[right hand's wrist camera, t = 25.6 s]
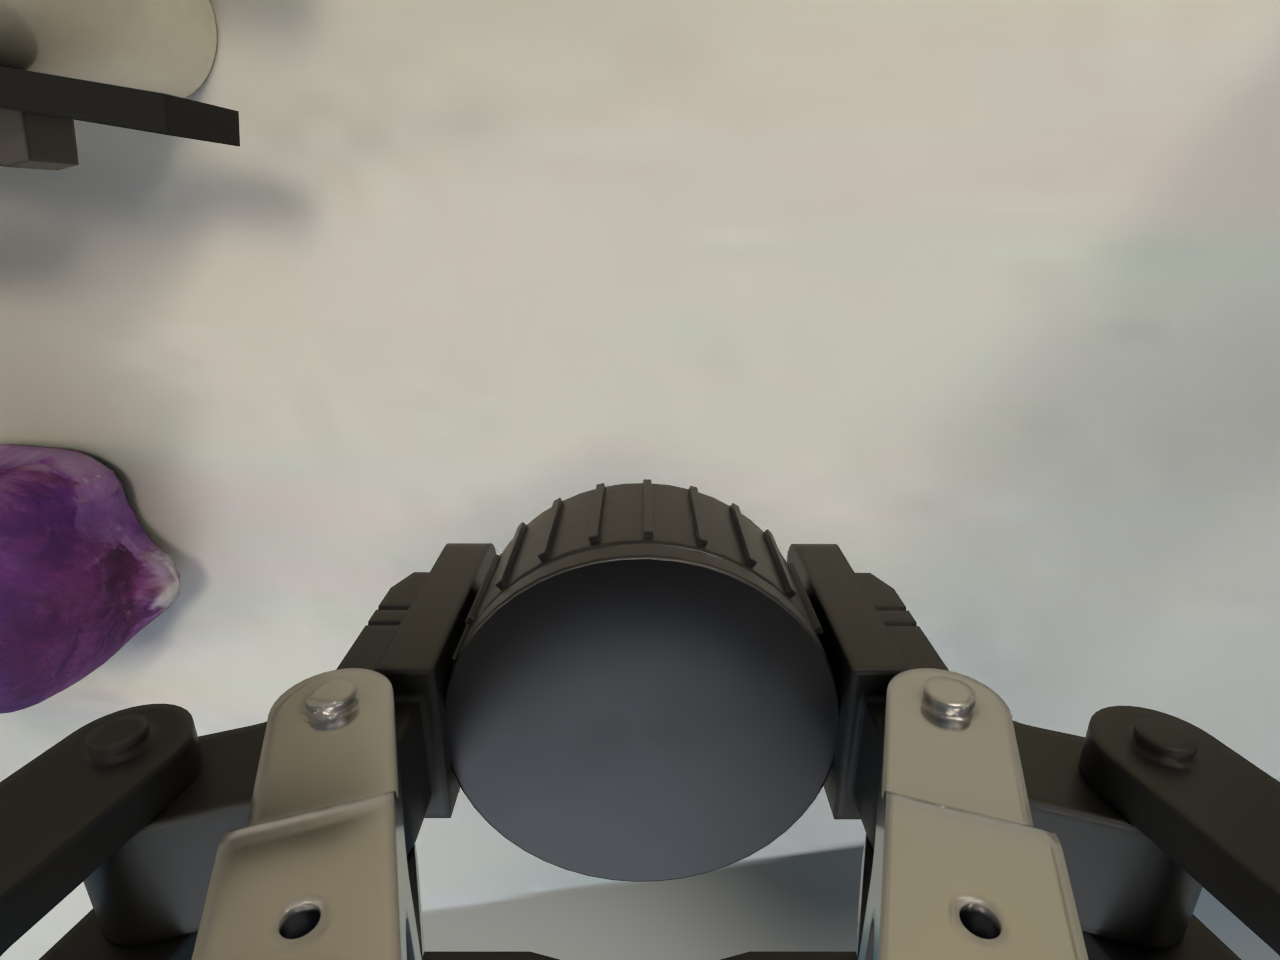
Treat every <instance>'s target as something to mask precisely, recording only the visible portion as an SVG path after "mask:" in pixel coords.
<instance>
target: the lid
mask: <svg viewBox="0 0 1280 960" xmlns="http://www.w3.org/2000/svg"><path fill="white" fill-rule="evenodd" d="M465 623H467V624H466V627H465V629H464V631H463V634H462V636H461V638H460V641H459V643H458V646H457V648H456V650H455V653H454V655H453V657H452V661H453V666H452V669H451V672H450V675H449V678H448V681H447V684H446V688H445V694H444V705H445V715H446V724H447V732H448V741H449V749H450V758H451V765H452V770H453V773H454V775H455V777H456V779H457V781H458V783H459V785H460V787H461V789H462V790H463V792H464V793H465V795H466V796H467V798H468V799H469V801H470V802H471V803H472V805H473V806H474V808H475V809H476V810H477V811H478V812H479V813H480V814H481V815H482V817H483V818H484V819H485V820H486V821H487V822H488V823H489V824H490V825H491V826H492V827H493V828H495V829H496V830H497V831H498V832H499V833H500V834H502V835H503V836H504V837H505V838H506V839H508V840H509V841H511V842H512V843H514V844H515V845H517V846H518V847H520V848H521V849H523V850H524V851H526V852H528V853H530V854H532V855H534V856H536V857H538V858H540V859H541V860H543V861H545V862H548V863H551V864H553V865H556V866H558V867H561V868H563V869H566V870H569V871H573V872H577V873H580V874H584V875H587V876H592V877H598V878H604V879H610V880H620V881H634V882H640V881H664V880H672V879H680V878H686V877H690V876H695V875H699V874H704V873H707V872H710V871H713V870H716V869H719V868H722V867H725V866H728V865H730V864H733V863H735V862H737V861H739V860H742V859H744V858H746V857H748V856H750V855H752V854H753V853H755V852H757V851H758V850H760V849H762V848H764V847H765V846H767V845H768V844H770V843H771V842H772V841H774V840H775V839H776V838H778V837H779V836H780V835H782V834H783V833H784V832H786V831H787V830H788V829H789V828H790V827H791V826H792V825H793V824H794V823H795V822H796V821H797V820H798V819H799V818H800V817H801V816H802V815H803V814H804V813H805V811H806V810H807V809H808V808H809V806H810V805H811V804H812V802H813V801H814V800H815V799H816V797H817V795H818V794H819V792H820V790H821V789H822V787H823V785H824V783H825V782H826V780H827V777H828V775H829V773H830V770H831V768H832V765H833V761H834V754H835V746H836V738H837V729H838V721H839V711H840V695H839V691H838V687H837V683H836V679H835V675H834V673H833V670H832V668H831V665H830V663H829V661H828V658H827V656H826V654H825V651H824V649H823V646H822V644H821V642H820V639H819V637H818V635H819V634H822V633H823V629H822V627H821V625H820V623H819V620H818V618H817V616H816V613H815V611H814V609H813V607H812V604H811V602H810V600H809V598H808V595H807V593H806V591H805V588H804V586H803V584H802V582H801V579H800V577H799V575H798V572H797V570H796V568H795V566H794V564H793V563H790V564H787V563H786V561H785V559H784V558H783V556H782V554H781V553H780V551H779V549H778V547H777V545H776V542H775V540H774V537H773V535H772V533H771V532H770V531H769V530H766V531H765V532H763V531H762V530H761V529H760V528H759V527H758V526H756V525H755V524H754V523H753V522H752V521H751V520H750V519H748V518H747V517H746V516H744V515H743V514H741V512H740V509H739V506H737V505H735V504H734V503H732V505H731V506H728V505H726V504H724V503H723V502H721V501H719V500H717V499H715V498H713V497H710V496H707V495H704V494H701V493H698V489H697V488H696V487H693V486H690V488H689V489H684V488H680V487H675V486H671V485H661V484H651V480H643V483H639V484H621V485H613V486H608V487H605V485H604V483H602V484H598V485H597V488H596V489H595V490H591V491H588V492H584V493H581V494H578V495H576V496H574V497H571V498H569V499H567V500H564V501H562V500H561V498H559V499H557V500H555V501H554V502H553V506H552V507H551V508H550V509H548V510H546V511H544V512H543V513H541V514H540V515H539V516H537V517H536V518H535V519H534V520H532V521H531V522H530V523H529V524H527V525H526V524H525V523H521V524H520V525H519V526H518V528H517V531H516V533H515V536H514V538H513V539H512V540H511V542H510V543H509V544H508V546H507V547H506V549H505V550H504V551H503V553H502V554H501V555H500V556H499V555H497V554H495V555H494V557H493V558H492V561H491V563H490V565H489V568H488V570H487V572H486V574H485V577H484V579H483V581H482V584H481V586H480V588H479V591H478V593H477V595H476V598H475V600H474V602H473V605H472V607H471V609H470V612H469V614H468V616H467V619H466V621H465Z"/></svg>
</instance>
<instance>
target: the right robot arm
mask: <svg viewBox="0 0 1280 960" xmlns="http://www.w3.org/2000/svg"><path fill="white" fill-rule="evenodd" d="M495 554H496V551H495V548H494V545H493V544H447V545H446V546H445V547H444V549H443V551H442V553H441V554H440V556H439V558H438V559H437V561H436V563H435V564H434V566H433V568H432V570H431V571H430V572H414V573H412V574H411V575H409V576H408V577H406V578H405V579H403V580H402V581H401V582H399V583H398V584H396V585H395V586H393V587H392V588H390V590H389V591H388V593H387V594H386V596H385V597H384V599H383V600H382V602H381V603H380V605H379V609H378V610H376V611H375V612H374V614H373V615H372V617H371V618H370V620H369V621H368V626H365V627H364V629H363V630H362V632H361V633H360V635H359V636H358V638H357V639H356V641H355V642H354V644H353V645H352V647H351V648H350V650H349V651H348V653H347V654H346V656H345V657H344V659H343V660H342V662H341V663H340V665H339V666H338V668H337V669H336V670H333V671H329V672H324V673H321V674H318V675H315V676H313V677H310V678H308V679H306V680H303V681H302V682H300V683H298V684H296V685H294V686H293V687H291V688H290V689H288V690H287V691H286V692H285V693H284V694H282V695H281V696H280V697H279V698H278V699H277V701H276V702H275V703H274V705H273V706H272V708H271V710H270V713H269V715H268V721H267V722H264V723H260V724H256V725H252V726H248V727H243V728H238V729H233V730H228V731H224V732H219V733H214V734H209V735H204V736H199V737H198V736H197V732H196V729H195V725H194V721H193V718H192V716H191V714H190V713H189V712H188V711H187V710H185V709H184V708H182V707H179V706H176V705H170V704H149V705H141V706H136V707H131V708H128V709H124V710H120V711H117V712H114V713H112V714H109V715H106V716H104V717H102V718H99V719H97V720H95V721H93V722H91V723H89V724H87V725H85V726H83V727H81V728H80V729H78V730H77V731H75V732H73V733H72V734H70V735H69V736H67V737H66V738H64V739H63V740H61V741H60V742H59V743H57V744H56V745H54V746H53V747H51V748H50V749H48V750H47V751H45V752H44V753H42V754H41V755H40V756H38V757H37V758H35V759H34V760H32V761H31V762H29V763H28V764H26V765H25V766H23V767H22V768H21V769H19V770H18V771H16V772H15V773H13V774H12V775H10V776H9V777H7V778H6V779H4V780H3V781H2V782H0V956H1V955H2V954H3V953H4V952H5V951H6V950H7V949H8V948H9V947H10V946H11V945H12V944H14V943H15V942H16V941H17V940H18V939H19V938H20V937H21V936H22V935H24V934H25V933H26V932H27V931H28V930H29V929H30V928H31V927H33V926H34V925H35V924H36V923H37V922H38V921H39V920H40V919H42V918H43V917H44V916H45V915H46V914H47V913H48V912H49V911H51V910H52V909H53V908H54V907H55V906H56V905H57V904H58V903H59V902H61V901H62V900H63V899H64V898H65V897H66V896H67V895H68V894H70V893H71V892H72V891H73V890H74V889H75V888H76V887H77V886H79V885H80V884H81V883H82V882H83V881H84V884H85V887H86V889H87V892H88V895H89V897H90V900H91V903H92V906H93V909H92V910H91V911H90V912H89V913H88V914H87V915H86V916H85V917H84V918H83V919H81V920H80V921H79V922H78V923H77V924H76V925H75V926H74V927H73V928H72V929H71V930H70V931H69V932H68V933H67V934H66V935H64V936H63V937H62V938H61V939H60V940H59V941H58V942H57V943H56V944H55V945H54V946H53V947H52V948H51V949H50V950H49V951H47V952H46V953H45V954H44V955H43V956H42V957H41V958H40V959H39V960H559V959H555V958H551V957H548V956H544V955H540V954H537V953H533V952H425V949H424V936H423V924H422V910H421V897H420V884H419V871H418V859H417V852H416V845H415V841H416V839H417V836H418V833H419V830H420V828H421V825H422V822H423V819H424V818H451V815H452V812H453V809H454V805H455V802H456V799H457V796H458V793H459V789H460V785H459V783H458V781H457V779H456V777H455V775H454V773H453V770H452V765H451V758H450V749H449V741H448V732H447V724H446V715H445V705H444V694H445V688H446V684H447V681H448V678H449V675H450V672H451V669H452V666H453V661H452V657H453V655H454V653H455V650H456V648H457V646H458V643H459V641H460V638H461V636H462V634H463V631H464V629H465V627H466V624H467V623H465V621H466V619H467V616H468V614H469V612H470V609H471V607H472V605H473V602H474V600H475V598H476V595H477V593H478V591H479V588H480V586H481V584H482V581H483V579H484V577H485V574H486V572H487V570H488V568H489V565H490V563H491V561H492V558H493V557H494V555H495ZM790 563H793V564H794V566H795V568H796V570H797V572H798V575H799V577H800V579H801V582H802V584H803V586H804V588H805V591H806V593H807V595H808V598H809V600H810V602H811V604H812V607H813V609H814V611H815V613H816V616H817V618H818V620H819V623H820V625H821V627H822V629H823V633H822V634H819V635H818V637H819V639H820V642H821V644H822V646H823V649H824V651H825V654H826V656H827V658H828V661H829V663H830V665H831V668H832V670H833V673H834V675H835V679H836V683H837V687H838V691H839V695H840V711H839V721H838V729H837V738H836V746H835V754H834V761H833V765H832V768H831V770H830V773H829V775H828V777H827V780H826V782H825V783H824V788H825V792H826V795H827V798H828V801H829V804H830V807H831V810H832V813H833V817H834V819H861V820H862V822H863V825H864V828H865V831H866V838H865V845H864V852H863V859H862V871H861V884H860V898H859V911H858V923H857V936H856V949H855V952H747V953H743V954H740V955H736V956H733V957H729V958H725V959H721V960H1241V959H1240V958H1239V957H1238V956H1237V955H1236V954H1235V953H1234V952H1233V951H1231V950H1230V949H1229V948H1228V947H1227V946H1226V945H1225V944H1224V943H1223V942H1222V941H1221V940H1220V939H1219V938H1218V937H1217V936H1215V935H1214V934H1213V933H1212V932H1211V931H1210V930H1209V929H1208V928H1207V927H1206V926H1205V925H1204V924H1203V923H1202V922H1201V921H1200V920H1199V919H1197V918H1196V917H1195V916H1194V915H1193V911H1194V908H1195V906H1196V903H1197V900H1198V898H1199V895H1200V892H1201V890H1202V887H1204V888H1205V889H1206V890H1207V891H1208V892H1209V893H1211V894H1212V895H1213V896H1214V897H1215V898H1216V899H1217V900H1218V901H1219V902H1221V903H1222V904H1223V905H1224V906H1225V907H1226V908H1227V909H1228V910H1230V911H1231V912H1232V913H1233V914H1234V915H1235V916H1236V917H1237V918H1238V919H1240V920H1241V921H1242V922H1243V923H1244V924H1245V925H1246V926H1247V927H1249V928H1250V929H1251V930H1252V931H1253V932H1254V933H1255V934H1256V935H1258V936H1259V937H1260V938H1261V939H1262V940H1263V941H1264V942H1265V943H1267V944H1268V945H1269V946H1270V947H1271V948H1272V949H1273V950H1274V951H1275V952H1276V953H1278V955H1279V956H1280V782H1278V781H1277V780H1276V779H1274V778H1273V777H1271V776H1270V775H1268V774H1267V773H1265V772H1264V771H1262V770H1261V769H1259V768H1258V767H1257V766H1255V765H1254V764H1252V763H1251V762H1249V761H1248V760H1246V759H1245V758H1243V757H1242V756H1240V755H1239V754H1238V753H1236V752H1235V751H1233V750H1232V749H1230V748H1229V747H1227V746H1226V745H1224V744H1223V743H1221V742H1220V741H1219V740H1217V739H1216V738H1214V737H1213V736H1211V735H1210V734H1208V733H1206V732H1205V731H1203V730H1202V729H1200V728H1198V727H1196V726H1194V725H1192V724H1190V723H1188V722H1186V721H1184V720H1181V719H1179V718H1177V717H1174V716H1171V715H1168V714H1165V713H1162V712H1159V711H1155V710H1151V709H1146V708H1141V707H1133V706H1113V707H1107V708H1104V709H1101V710H1099V711H1097V712H1096V713H1095V714H1094V715H1093V716H1092V717H1091V720H1090V722H1089V726H1088V730H1087V733H1086V737H1081V736H1076V735H1071V734H1066V733H1061V732H1057V731H1052V730H1047V729H1042V728H1037V727H1033V726H1029V725H1025V724H1021V723H1018V722H1015V721H1013V720H1012V715H1011V713H1010V710H1009V708H1008V706H1007V705H1006V703H1005V702H1004V701H1003V699H1002V698H1001V697H1000V696H999V695H998V694H996V693H995V692H994V691H993V690H992V689H990V688H989V687H987V686H986V685H984V684H982V683H980V682H978V681H977V680H974V679H972V678H970V677H967V676H965V675H962V674H959V673H956V672H951V671H949V670H948V669H947V667H946V666H945V664H944V663H943V661H942V660H941V658H940V657H939V655H938V654H937V652H936V651H935V649H934V648H933V646H932V645H931V643H930V642H929V640H928V639H927V637H926V636H925V635H924V633H923V632H922V630H921V629H920V627H919V626H916V621H915V620H914V618H913V617H912V615H911V614H910V612H909V611H906V606H905V605H904V604H903V602H902V601H901V599H900V598H899V596H898V595H897V593H896V592H895V590H894V589H893V588H892V587H890V586H889V585H887V584H886V583H884V582H883V581H881V580H880V579H878V578H877V577H875V576H874V575H872V574H871V573H854V571H853V570H852V568H851V566H850V565H849V563H848V561H847V560H846V558H845V556H844V555H843V553H842V551H841V550H840V548H839V546H838V545H837V544H791V545H790V547H789V551H788V556H787V564H790Z"/></svg>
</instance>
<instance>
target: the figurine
mask: <svg viewBox="0 0 1280 960" xmlns="http://www.w3.org/2000/svg"><path fill="white" fill-rule="evenodd" d="M179 590H180V575H179V571H178V568H177V567H176V565H175V563H174V561H173V560H172V559H171V558H170V556H169V555H168V554H166V553H165V552H164V551H162V550H161V549H160V548H159V547H157V546H156V545H155V544H154V543H153V542H152V541H151V539H150V537H149V536H148V534H147V533H146V532H145V531H144V530H143V528H142V526H141V525H140V523H139V521H138V519H137V518H136V517H135V514H134V510H133V509H132V508H131V506H130V505H129V501H128V499H127V497H126V495H125V493H124V490H123V487H122V484H121V482H120V480H119V479H118V478H117V477H116V476H115V473H114V471H113V470H111V469H109V468H107V467H106V466H105V465H103V464H102V463H100V462H98V461H97V460H95V459H94V458H93V457H91V456H89V455H87V454H84V453H81V452H79V451H71V450H65V449H59V448H48V447H35V446H23V445H13V444H5V445H0V713H9V712H14V711H18V710H21V709H25V708H27V707H30V706H33V705H35V704H38V703H40V702H42V701H44V700H46V699H47V698H49V697H51V696H53V695H55V694H57V693H59V692H61V691H62V690H64V689H66V688H68V687H70V686H71V685H73V684H75V683H76V682H78V681H80V680H81V679H83V678H84V677H86V676H87V675H89V674H90V673H91V672H93V671H94V670H96V669H97V668H98V667H100V666H101V665H102V664H104V663H105V662H106V661H107V660H108V659H110V658H111V657H112V656H113V655H114V654H115V653H116V652H117V651H119V650H120V649H121V648H122V647H123V646H124V645H125V644H126V643H127V642H128V641H129V640H130V639H131V638H132V637H133V636H134V635H135V634H136V633H137V632H139V631H140V630H141V629H142V628H144V627H145V626H146V625H147V624H149V623H150V622H151V621H153V620H154V619H155V618H156V617H157V616H159V615H160V614H161V613H162V612H164V611H165V610H166V609H167V608H169V607H170V606H171V605H172V604H173V603H174V602H175V600H176V598H177V597H178V595H179Z"/></svg>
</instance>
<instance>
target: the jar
mask: <svg viewBox="0 0 1280 960" xmlns="http://www.w3.org/2000/svg"><path fill="white" fill-rule="evenodd" d="M216 47H217V30H216V23H215V17H214V13H213V9H212V6H211V3H210V1H209V0H0V66H3V67H9V68H15V69H21V70H27V71H33V72H39V73H45V74H51V75H57V76H63V77H69V78H75V79H81V80H87V81H93V82H99V83H105V84H111V85H117V86H123V87H129V88H135V89H141V90H146V91H152V92H158V93H164V94H169V95H173V96H177V97H181V98H186V97H188V96H189V95H191V94H192V93H193V92H195V91H196V90H197V89H198V88H199V87H200V86H201V85H202V84H203V82H204V81H205V79H206V78H207V76H208V74H209V72H210V70H211V68H212V65H213V62H214V59H215V54H216Z"/></svg>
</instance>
